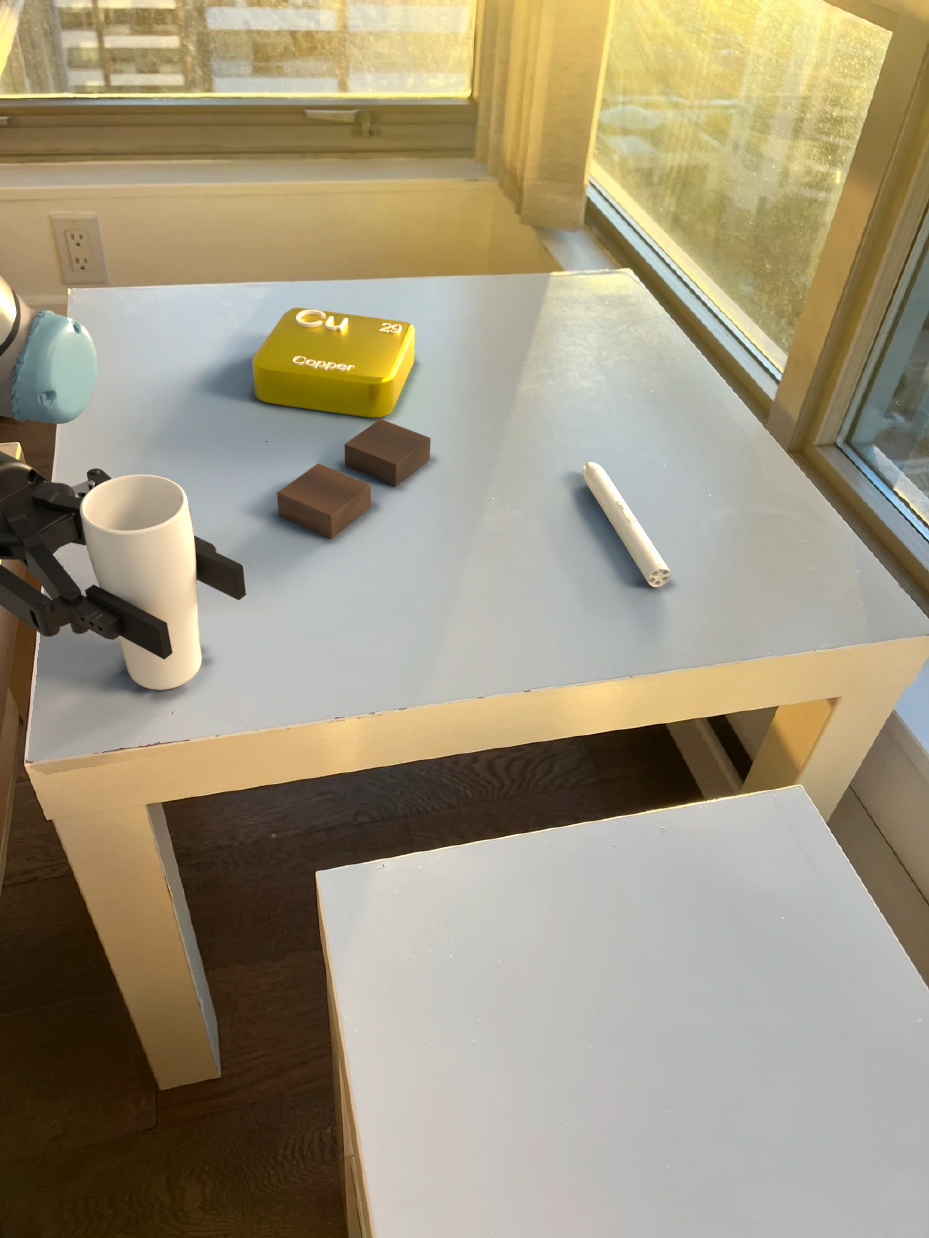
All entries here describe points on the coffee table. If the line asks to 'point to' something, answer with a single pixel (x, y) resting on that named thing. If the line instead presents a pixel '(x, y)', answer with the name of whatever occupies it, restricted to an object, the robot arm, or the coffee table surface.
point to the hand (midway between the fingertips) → (204, 610)
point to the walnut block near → (324, 500)
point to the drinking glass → (148, 567)
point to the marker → (626, 526)
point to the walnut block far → (387, 452)
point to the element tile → (334, 362)
